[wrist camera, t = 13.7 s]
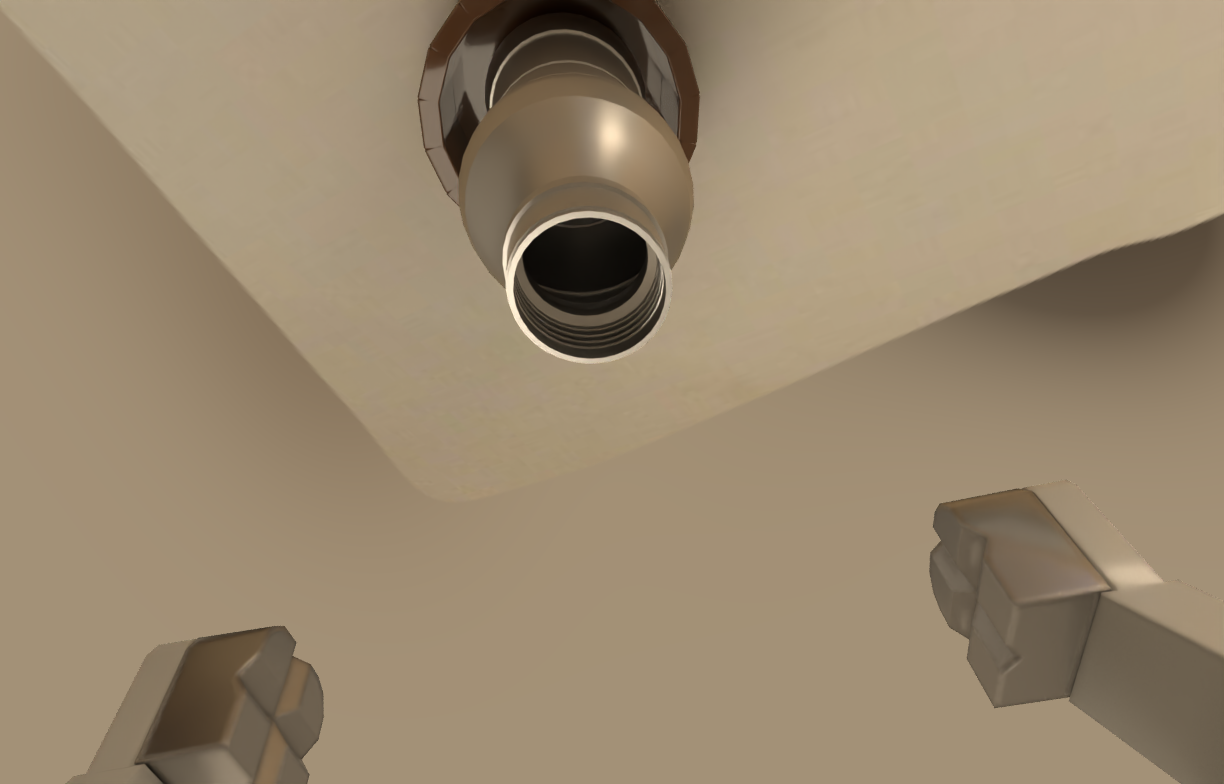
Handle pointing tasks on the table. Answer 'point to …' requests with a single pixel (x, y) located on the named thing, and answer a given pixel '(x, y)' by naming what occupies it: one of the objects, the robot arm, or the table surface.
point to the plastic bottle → (576, 190)
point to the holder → (492, 13)
